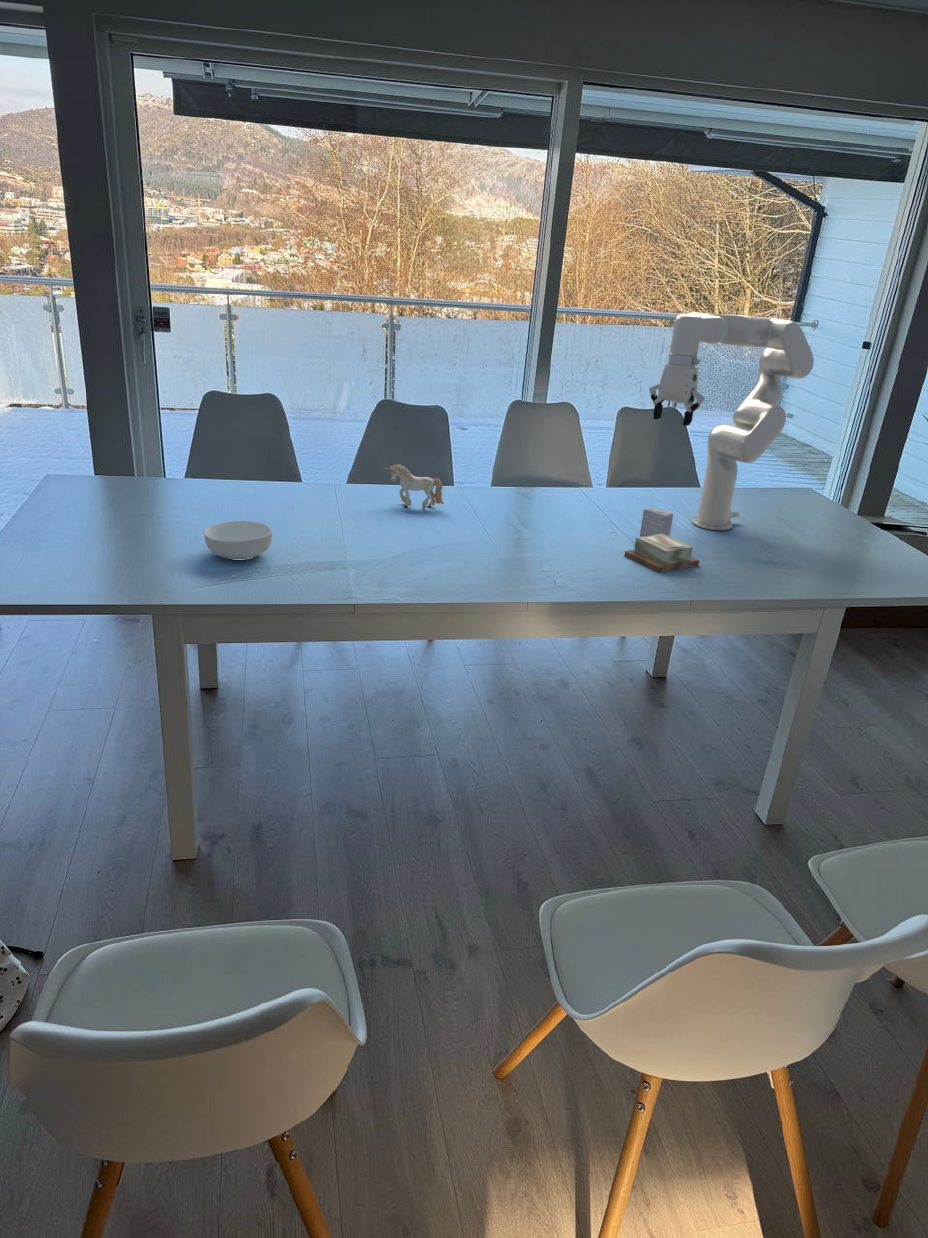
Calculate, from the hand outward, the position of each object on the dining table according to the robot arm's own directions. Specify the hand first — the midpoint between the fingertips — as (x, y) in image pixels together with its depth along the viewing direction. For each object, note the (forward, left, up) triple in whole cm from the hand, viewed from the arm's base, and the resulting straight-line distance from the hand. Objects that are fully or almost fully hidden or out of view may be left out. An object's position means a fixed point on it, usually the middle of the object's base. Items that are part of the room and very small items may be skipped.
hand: (671, 421), depth 255 cm
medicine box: (+3, +3, -34) cm, 35 cm away
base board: (+14, +19, -34) cm, 41 cm away
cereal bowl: (+120, -27, -34) cm, 127 cm away
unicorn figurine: (+58, -48, -34) cm, 82 cm away
